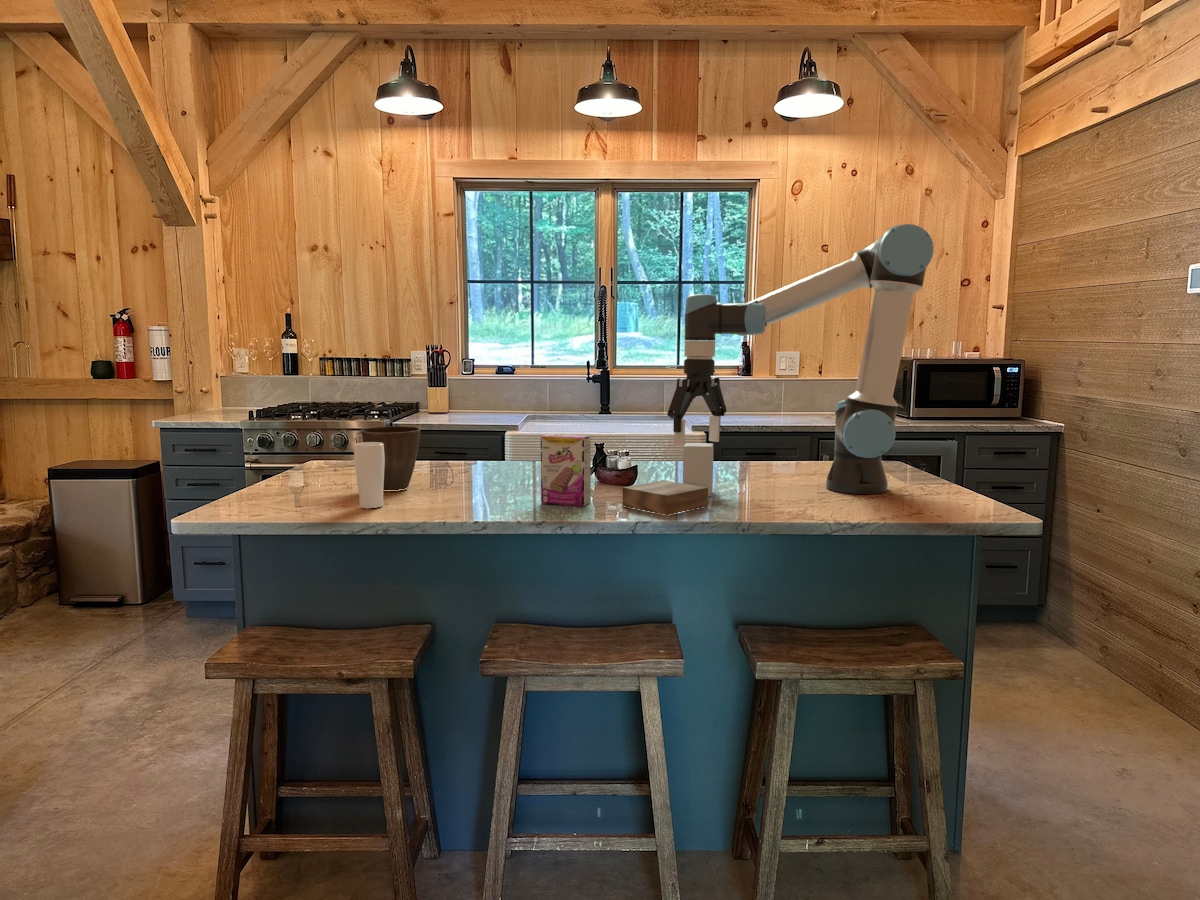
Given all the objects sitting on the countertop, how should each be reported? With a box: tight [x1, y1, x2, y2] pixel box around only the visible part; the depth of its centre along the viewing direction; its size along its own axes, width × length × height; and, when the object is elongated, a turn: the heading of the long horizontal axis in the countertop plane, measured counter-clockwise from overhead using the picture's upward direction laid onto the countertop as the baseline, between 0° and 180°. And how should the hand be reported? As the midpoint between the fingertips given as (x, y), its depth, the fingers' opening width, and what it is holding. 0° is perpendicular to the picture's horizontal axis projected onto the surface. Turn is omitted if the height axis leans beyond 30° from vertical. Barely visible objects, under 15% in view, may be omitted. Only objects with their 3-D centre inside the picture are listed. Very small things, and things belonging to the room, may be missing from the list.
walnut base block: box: [622, 480, 709, 515], centre depth 182 cm, size 14×14×5 cm
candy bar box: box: [540, 433, 592, 508], centre depth 185 cm, size 11×5×16 cm, turn 71°
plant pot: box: [360, 425, 421, 490], centre depth 204 cm, size 15×15×16 cm
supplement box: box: [682, 442, 714, 497], centre depth 197 cm, size 7×7×13 cm
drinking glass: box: [353, 442, 385, 510], centre depth 182 cm, size 7×7×15 cm
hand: (696, 443), depth 196 cm, fingers open, 13 cm apart
